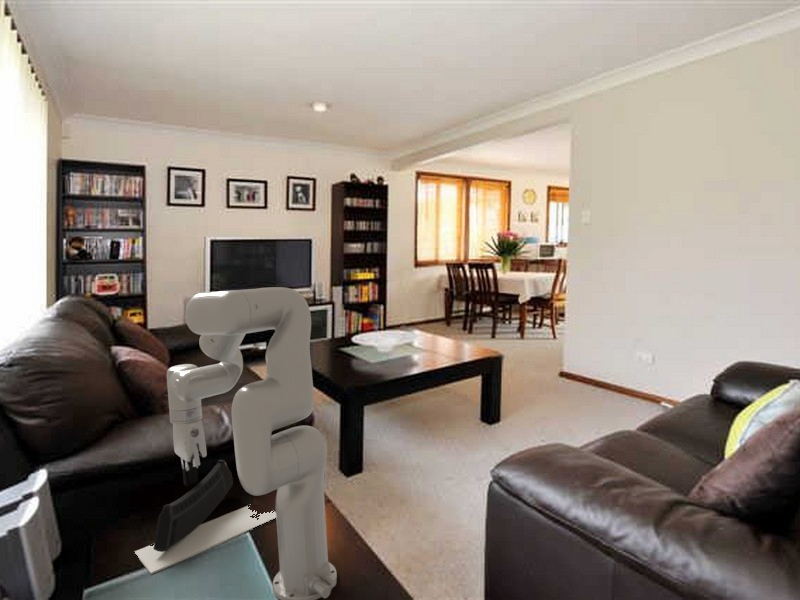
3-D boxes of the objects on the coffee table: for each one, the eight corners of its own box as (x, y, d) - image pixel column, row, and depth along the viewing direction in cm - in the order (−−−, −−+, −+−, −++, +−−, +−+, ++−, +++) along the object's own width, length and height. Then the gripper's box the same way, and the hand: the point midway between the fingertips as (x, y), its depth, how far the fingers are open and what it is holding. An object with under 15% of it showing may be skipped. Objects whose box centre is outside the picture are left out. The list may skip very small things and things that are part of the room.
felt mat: (280, 516, 124) (280, 515, 124) (151, 574, 103) (150, 572, 103) (258, 502, 133) (258, 501, 133) (134, 553, 111) (134, 551, 111)
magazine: (159, 524, 105) (226, 437, 133) (145, 522, 106) (215, 436, 133) (173, 581, 111) (234, 487, 139) (160, 579, 112) (224, 486, 139)
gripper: (213, 416, 121) (217, 487, 122) (189, 404, 131) (194, 470, 133) (181, 423, 115) (187, 498, 117) (160, 411, 126) (165, 479, 128)
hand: (191, 483), depth 125 cm, fingers closed
